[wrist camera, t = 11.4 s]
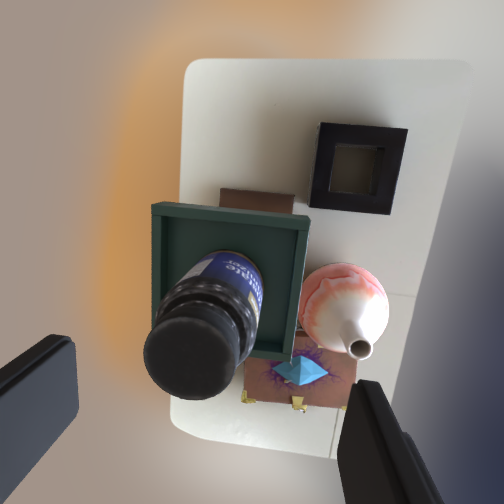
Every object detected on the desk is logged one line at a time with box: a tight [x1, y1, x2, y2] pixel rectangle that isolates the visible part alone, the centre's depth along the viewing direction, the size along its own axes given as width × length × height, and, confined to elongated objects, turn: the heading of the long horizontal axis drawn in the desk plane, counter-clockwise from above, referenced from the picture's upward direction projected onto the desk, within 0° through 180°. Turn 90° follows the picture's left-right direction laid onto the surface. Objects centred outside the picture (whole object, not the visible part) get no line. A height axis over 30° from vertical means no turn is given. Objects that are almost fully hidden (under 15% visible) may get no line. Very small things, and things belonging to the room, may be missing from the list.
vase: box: [298, 263, 389, 360], centre depth 44 cm, size 14×14×18 cm
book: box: [241, 328, 358, 413], centre depth 55 cm, size 16×25×5 cm, turn 89°
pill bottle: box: [143, 249, 264, 400], centre depth 20 cm, size 6×6×11 cm
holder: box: [307, 122, 408, 215], centre depth 45 cm, size 12×12×4 cm
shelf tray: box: [151, 202, 311, 362], centre depth 25 cm, size 12×12×2 cm
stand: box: [219, 188, 295, 214], centre depth 38 cm, size 12×12×26 cm
